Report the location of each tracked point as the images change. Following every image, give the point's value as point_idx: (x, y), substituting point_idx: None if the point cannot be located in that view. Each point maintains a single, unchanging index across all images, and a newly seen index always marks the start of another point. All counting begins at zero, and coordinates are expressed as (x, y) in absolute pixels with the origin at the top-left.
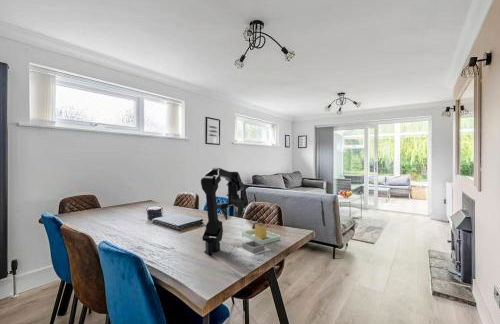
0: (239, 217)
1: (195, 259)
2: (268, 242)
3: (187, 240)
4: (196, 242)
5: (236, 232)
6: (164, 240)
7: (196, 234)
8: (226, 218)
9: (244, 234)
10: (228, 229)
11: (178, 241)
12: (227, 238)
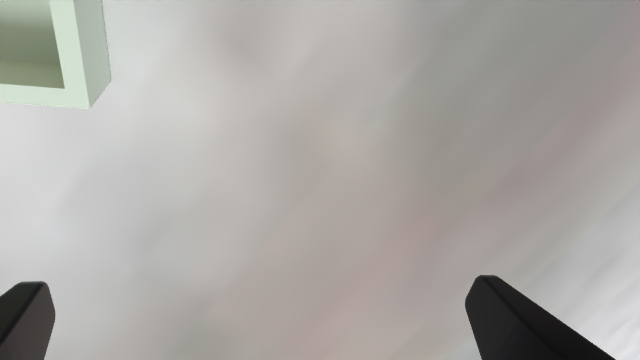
0: (45, 293)
1: None
2: None
3: (552, 290)
4: (560, 222)
5: (90, 242)
6: (611, 350)
7: (417, 356)
8: (529, 301)
9: (85, 18)
10: (121, 346)
11: (595, 302)
12: (305, 142)
